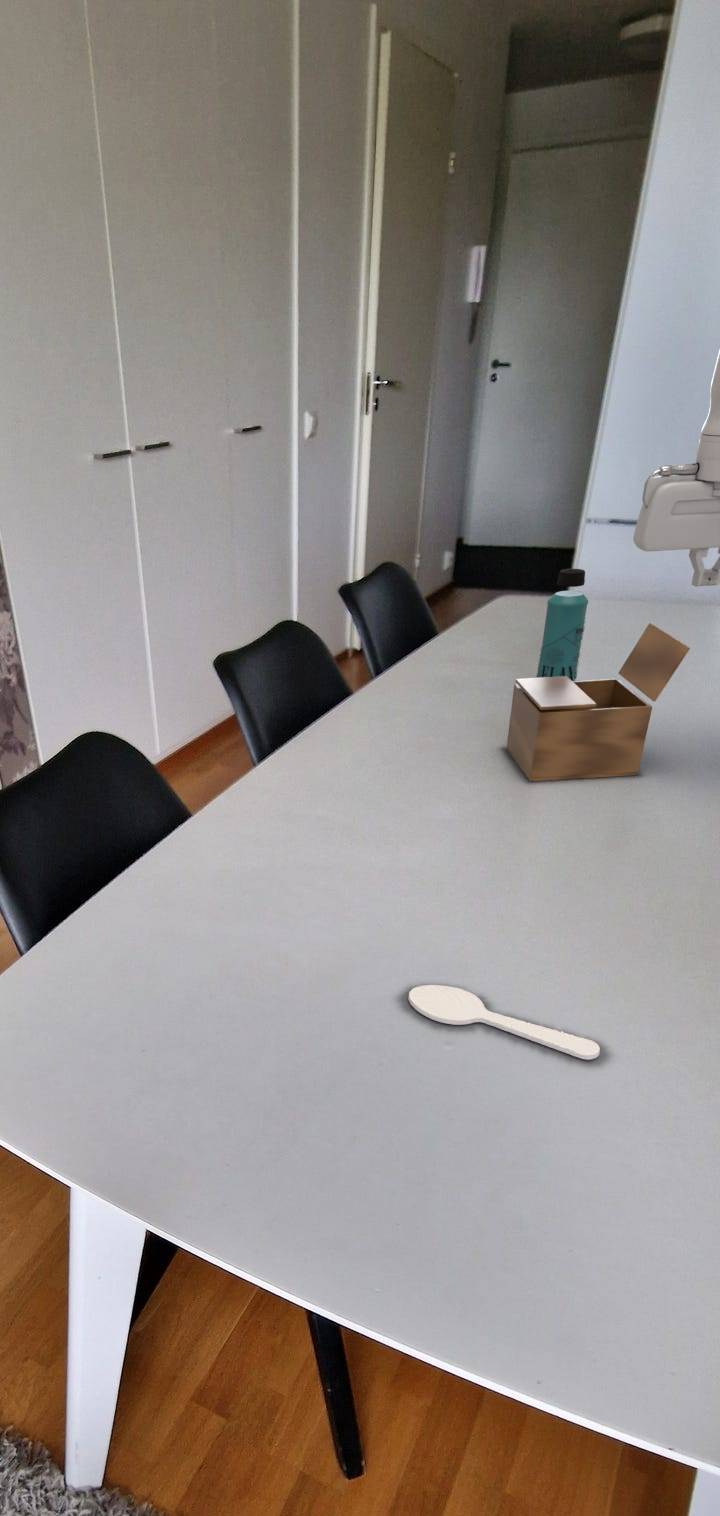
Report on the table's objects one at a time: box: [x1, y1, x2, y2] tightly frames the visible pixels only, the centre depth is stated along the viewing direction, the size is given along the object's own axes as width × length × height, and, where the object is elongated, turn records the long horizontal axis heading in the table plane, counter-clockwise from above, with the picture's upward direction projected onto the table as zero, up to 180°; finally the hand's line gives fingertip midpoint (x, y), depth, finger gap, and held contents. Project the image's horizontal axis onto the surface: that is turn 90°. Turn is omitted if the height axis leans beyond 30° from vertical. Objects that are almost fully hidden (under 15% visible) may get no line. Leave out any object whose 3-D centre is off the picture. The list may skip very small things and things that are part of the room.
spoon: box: [408, 983, 601, 1061], centre depth 84 cm, size 5×18×1 cm, turn 54°
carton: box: [505, 676, 653, 782], centre depth 131 cm, size 15×13×10 cm
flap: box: [618, 622, 691, 703], centre depth 125 cm, size 7×13×1 cm
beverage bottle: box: [535, 568, 589, 681], centre depth 150 cm, size 6×7×20 cm
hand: (705, 585), depth 120 cm, fingers closed
